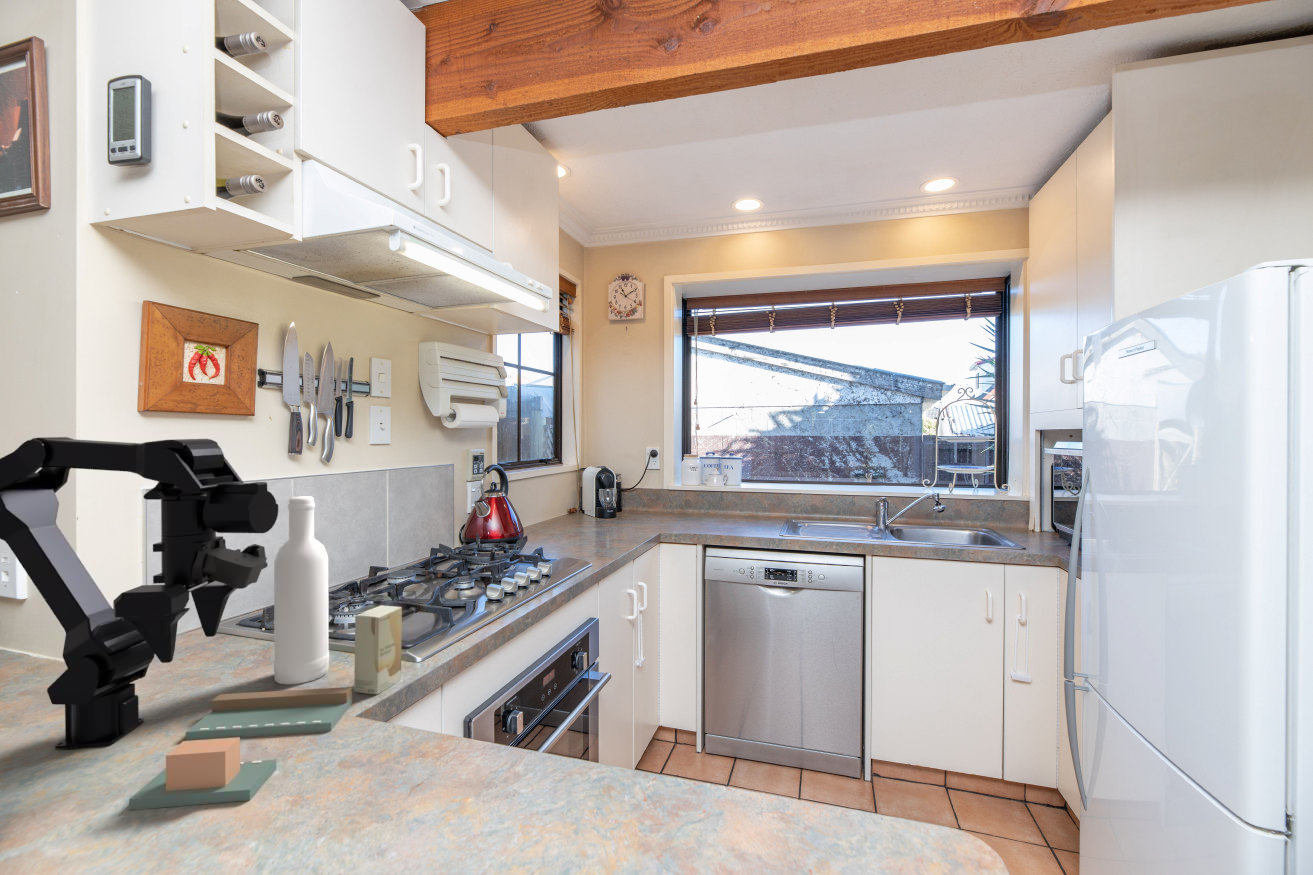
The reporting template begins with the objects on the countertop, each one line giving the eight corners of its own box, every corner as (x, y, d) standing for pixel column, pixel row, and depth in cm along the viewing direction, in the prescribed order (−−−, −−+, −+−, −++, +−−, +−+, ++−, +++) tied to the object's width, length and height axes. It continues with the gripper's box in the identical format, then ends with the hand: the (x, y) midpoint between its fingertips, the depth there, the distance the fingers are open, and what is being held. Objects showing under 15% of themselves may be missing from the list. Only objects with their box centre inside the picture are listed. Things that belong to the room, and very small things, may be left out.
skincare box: (377, 695, 91) (377, 617, 91) (353, 693, 92) (352, 615, 91) (403, 678, 97) (403, 605, 97) (380, 676, 98) (380, 603, 98)
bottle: (270, 689, 93) (270, 501, 92) (276, 670, 100) (275, 495, 99) (328, 679, 97) (328, 498, 96) (330, 662, 104) (329, 493, 103)
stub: (129, 809, 63) (128, 762, 63) (166, 777, 69) (166, 733, 69) (249, 799, 65) (249, 753, 65) (276, 768, 71) (276, 726, 71)
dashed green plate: (185, 740, 78) (185, 720, 77) (221, 711, 85) (220, 693, 85) (331, 731, 80) (331, 711, 80) (352, 703, 88) (352, 686, 88)
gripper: (214, 545, 70) (215, 674, 70) (287, 520, 88) (288, 622, 89) (109, 547, 68) (110, 679, 69) (206, 521, 87) (207, 626, 87)
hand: (190, 648), depth 78 cm, fingers open, 9 cm apart
